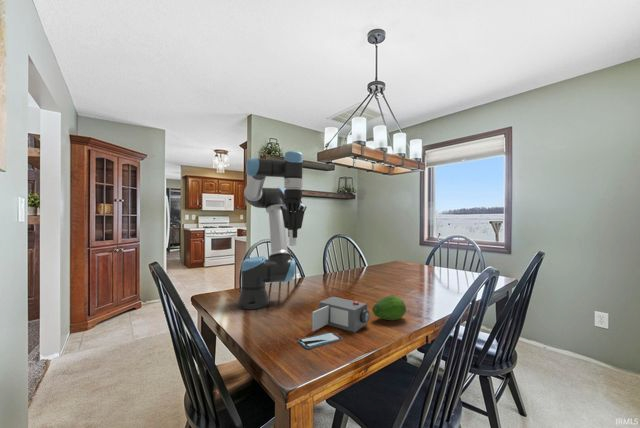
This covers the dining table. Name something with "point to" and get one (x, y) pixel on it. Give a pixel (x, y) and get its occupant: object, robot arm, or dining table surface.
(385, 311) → the fruit
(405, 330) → the dining table surface
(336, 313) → the camera body
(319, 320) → the door
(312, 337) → the smartphone
